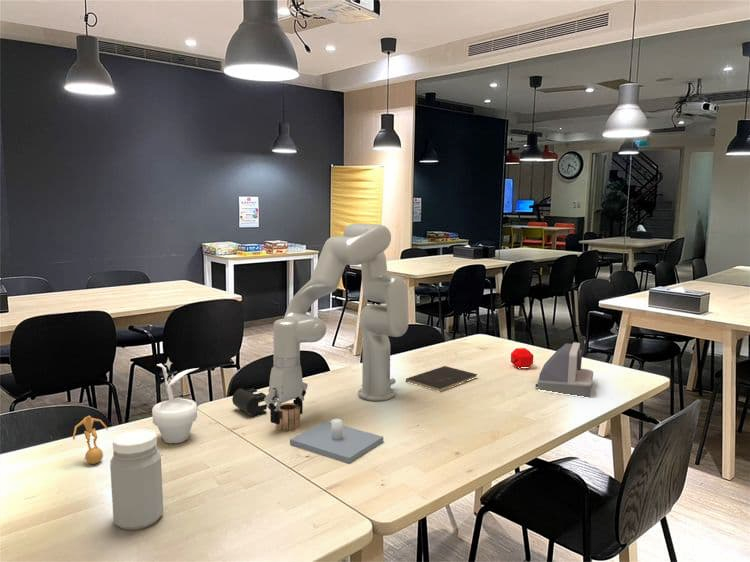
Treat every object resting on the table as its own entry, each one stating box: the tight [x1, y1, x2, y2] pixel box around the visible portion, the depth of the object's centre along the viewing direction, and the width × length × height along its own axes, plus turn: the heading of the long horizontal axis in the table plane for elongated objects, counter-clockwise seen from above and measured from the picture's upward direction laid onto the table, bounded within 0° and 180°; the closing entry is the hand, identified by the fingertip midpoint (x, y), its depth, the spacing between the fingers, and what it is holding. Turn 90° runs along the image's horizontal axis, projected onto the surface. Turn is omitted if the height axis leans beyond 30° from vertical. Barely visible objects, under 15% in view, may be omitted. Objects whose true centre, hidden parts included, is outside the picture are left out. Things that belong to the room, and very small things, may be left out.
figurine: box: [72, 415, 109, 465], centre depth 141 cm, size 8×6×12 cm
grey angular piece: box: [535, 342, 594, 398], centre depth 203 cm, size 21×21×15 cm
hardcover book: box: [405, 365, 478, 392], centre depth 210 cm, size 16×23×2 cm
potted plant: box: [151, 357, 200, 445], centre depth 154 cm, size 13×12×25 cm
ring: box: [275, 402, 301, 432], centre depth 165 cm, size 7×7×6 cm
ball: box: [510, 347, 534, 368], centre depth 227 cm, size 8×8×8 cm
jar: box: [109, 428, 164, 531], centre depth 115 cm, size 10×10×18 cm
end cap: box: [231, 387, 268, 418], centre depth 176 cm, size 10×7×7 cm
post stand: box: [289, 418, 384, 464], centre depth 153 cm, size 16×20×6 cm
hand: (286, 418), depth 164 cm, fingers open, 9 cm apart
